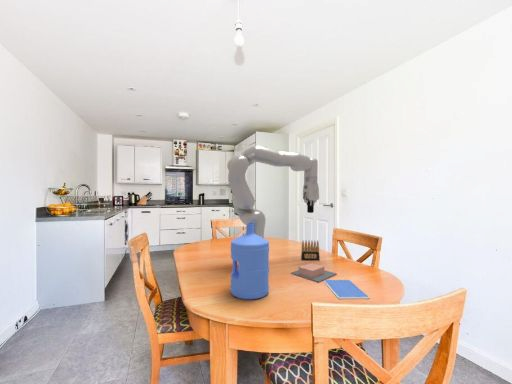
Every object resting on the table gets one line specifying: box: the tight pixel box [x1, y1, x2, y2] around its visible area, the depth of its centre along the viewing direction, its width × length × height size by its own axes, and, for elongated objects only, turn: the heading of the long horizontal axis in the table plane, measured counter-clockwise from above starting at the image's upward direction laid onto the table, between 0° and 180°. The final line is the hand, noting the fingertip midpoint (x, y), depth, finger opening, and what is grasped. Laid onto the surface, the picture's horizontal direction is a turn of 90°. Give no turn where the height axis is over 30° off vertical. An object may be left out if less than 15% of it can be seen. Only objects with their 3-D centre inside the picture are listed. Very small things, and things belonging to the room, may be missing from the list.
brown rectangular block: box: [298, 262, 325, 278], centre depth 122 cm, size 4×8×10 cm
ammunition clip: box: [300, 239, 321, 262], centre depth 149 cm, size 11×2×12 cm, turn 90°
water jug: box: [229, 223, 270, 301], centre depth 101 cm, size 16×16×28 cm
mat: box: [290, 269, 337, 283], centre depth 123 cm, size 16×16×1 cm
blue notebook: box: [323, 279, 370, 300], centre depth 105 cm, size 19×13×1 cm, turn 2°
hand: (310, 212), depth 141 cm, fingers closed
